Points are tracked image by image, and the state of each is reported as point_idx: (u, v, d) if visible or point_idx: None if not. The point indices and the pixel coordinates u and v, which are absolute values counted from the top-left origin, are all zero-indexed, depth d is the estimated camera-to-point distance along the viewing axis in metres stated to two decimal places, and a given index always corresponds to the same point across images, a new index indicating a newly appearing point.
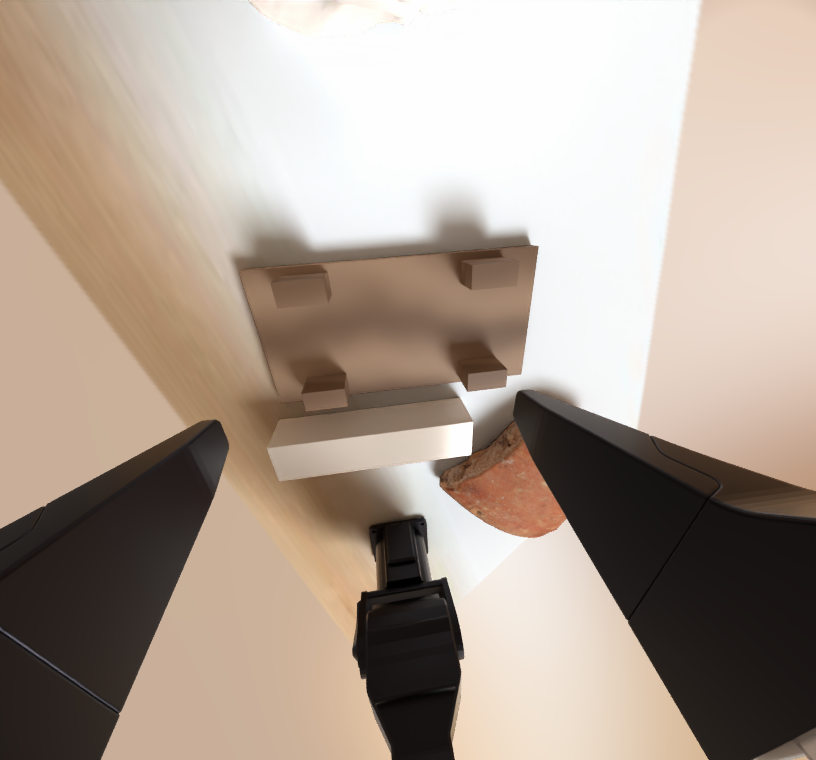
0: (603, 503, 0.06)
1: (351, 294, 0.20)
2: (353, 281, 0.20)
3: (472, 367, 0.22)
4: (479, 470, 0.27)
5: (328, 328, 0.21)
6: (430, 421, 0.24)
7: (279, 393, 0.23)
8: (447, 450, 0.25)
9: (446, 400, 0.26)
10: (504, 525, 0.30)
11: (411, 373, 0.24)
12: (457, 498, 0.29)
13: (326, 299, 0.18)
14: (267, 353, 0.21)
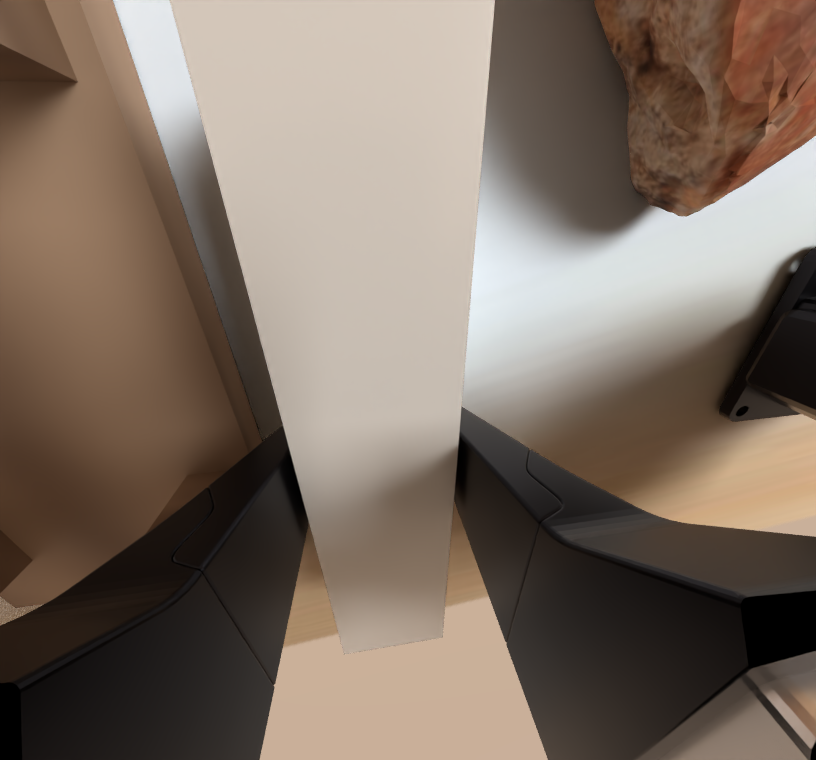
0: (483, 520, 0.06)
1: None
2: None
3: None
4: None
5: (68, 505, 0.09)
6: None
7: None
8: (422, 164, 0.04)
9: None
10: None
11: (134, 309, 0.07)
12: None
13: None
14: None
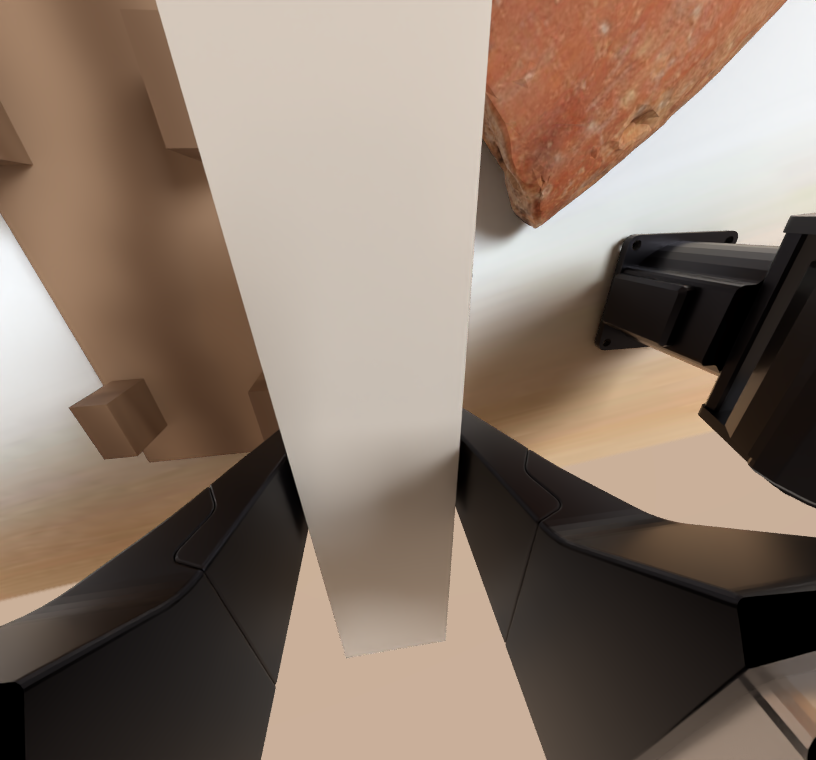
0: (482, 520, 0.06)
1: (133, 354, 0.15)
2: (111, 351, 0.14)
3: None
4: (491, 123, 0.11)
5: (195, 385, 0.16)
6: None
7: None
8: (418, 158, 0.04)
9: None
10: (738, 7, 0.09)
11: None
12: (569, 189, 0.12)
13: (101, 405, 0.13)
14: (248, 450, 0.18)
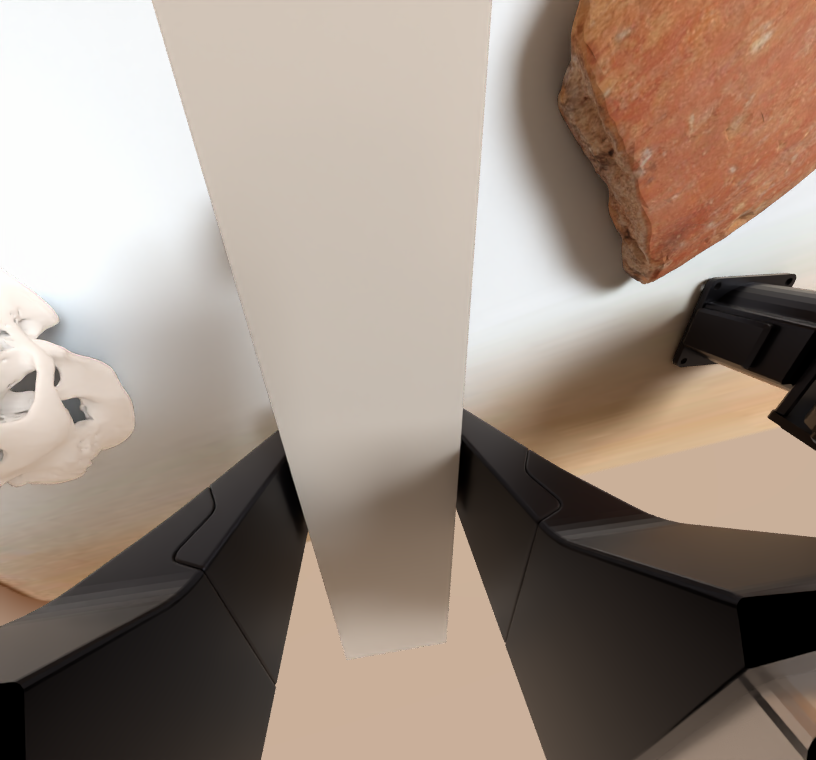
0: (482, 520, 0.06)
1: None
2: None
3: None
4: (638, 222, 0.15)
5: None
6: None
7: None
8: (418, 159, 0.04)
9: None
10: None
11: None
12: (682, 262, 0.16)
13: None
14: None
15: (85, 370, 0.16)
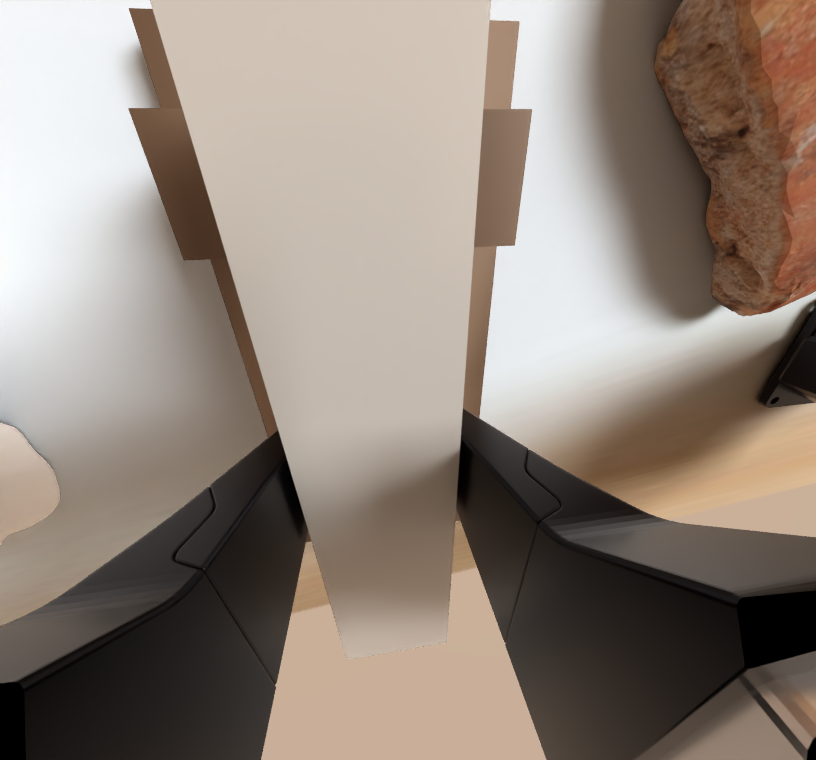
0: (482, 520, 0.06)
1: None
2: None
3: None
4: (769, 236, 0.10)
5: None
6: None
7: None
8: (417, 158, 0.04)
9: None
10: None
11: None
12: (814, 290, 0.12)
13: None
14: None
15: None
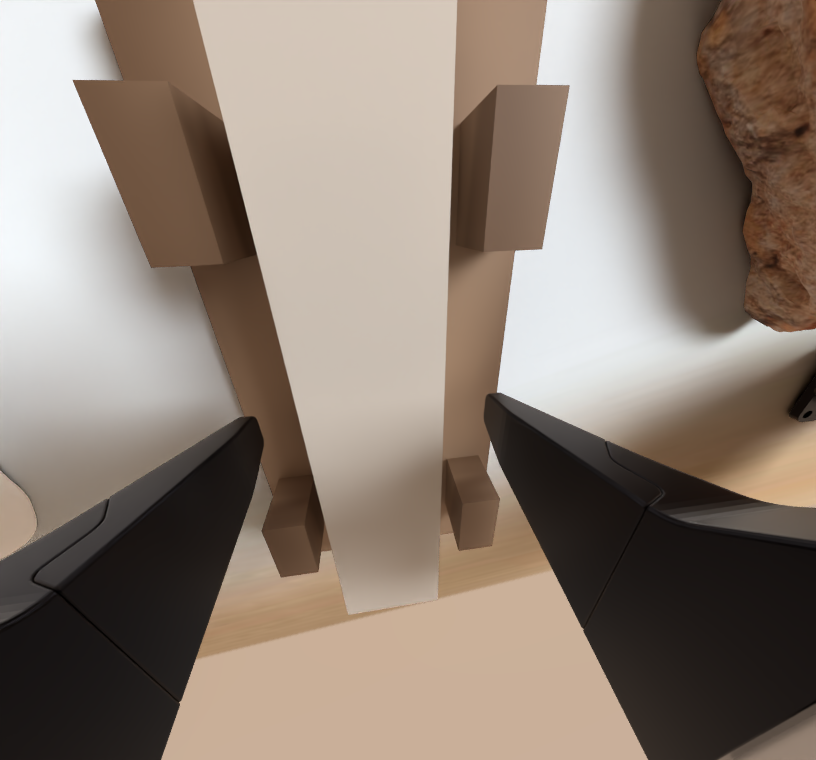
0: (559, 509, 0.06)
1: None
2: (288, 448, 0.12)
3: (472, 222, 0.08)
4: None
5: None
6: None
7: None
8: (403, 174, 0.05)
9: None
10: None
11: (468, 355, 0.11)
12: None
13: (297, 525, 0.11)
14: None
15: None
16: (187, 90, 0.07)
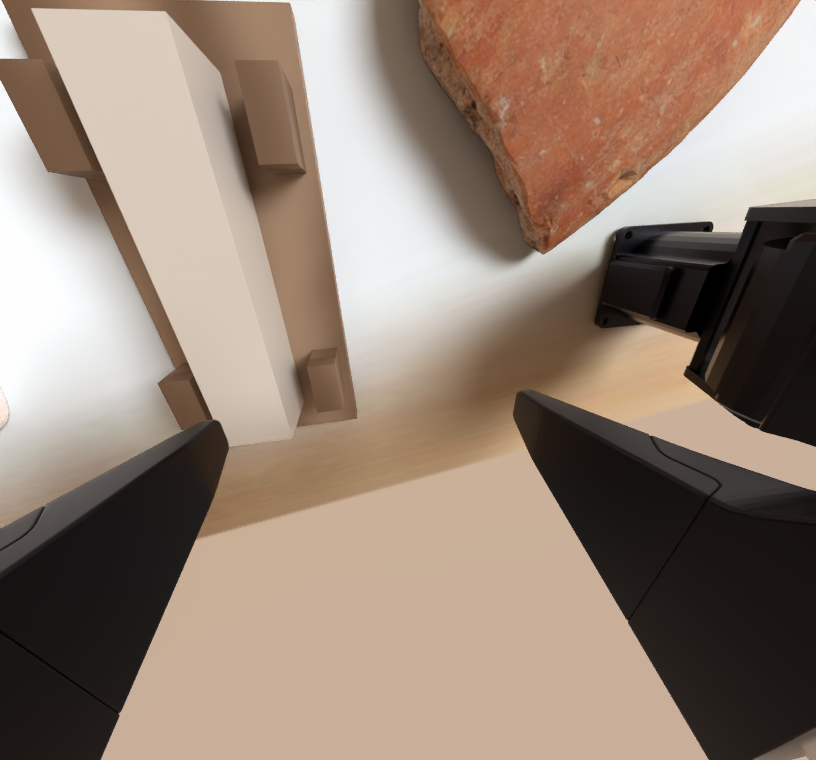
0: (603, 503, 0.06)
1: None
2: None
3: None
4: (513, 182, 0.14)
5: None
6: None
7: (344, 418, 0.21)
8: (165, 105, 0.10)
9: None
10: (692, 103, 0.13)
11: (306, 260, 0.16)
12: (570, 227, 0.16)
13: (184, 380, 0.15)
14: None
15: None
16: None
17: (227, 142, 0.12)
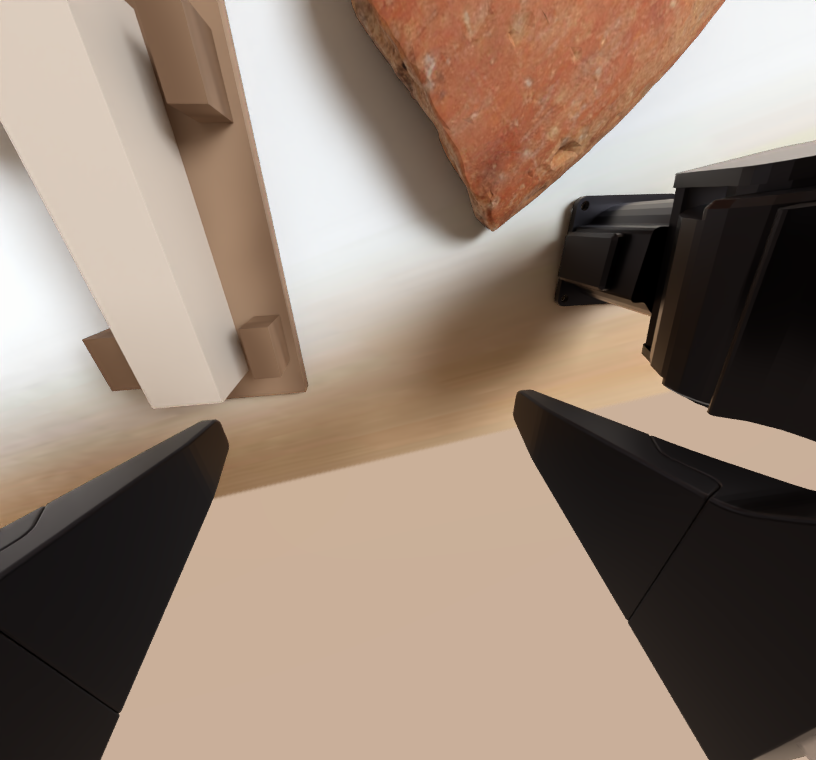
0: (603, 503, 0.06)
1: None
2: None
3: None
4: (449, 149, 0.14)
5: None
6: None
7: (292, 391, 0.20)
8: (47, 25, 0.09)
9: None
10: (631, 68, 0.12)
11: (240, 219, 0.15)
12: (514, 200, 0.15)
13: (110, 338, 0.15)
14: (240, 395, 0.20)
15: None
16: None
17: (138, 81, 0.12)
